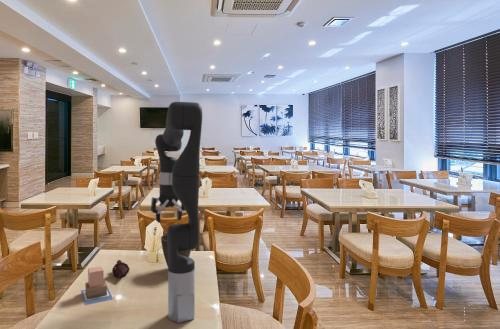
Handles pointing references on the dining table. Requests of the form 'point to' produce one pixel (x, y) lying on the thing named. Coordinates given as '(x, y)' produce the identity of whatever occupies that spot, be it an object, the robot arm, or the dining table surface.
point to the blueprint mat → (97, 299)
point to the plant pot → (165, 249)
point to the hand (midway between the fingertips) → (168, 221)
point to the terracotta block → (95, 277)
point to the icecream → (120, 269)
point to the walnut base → (95, 291)
